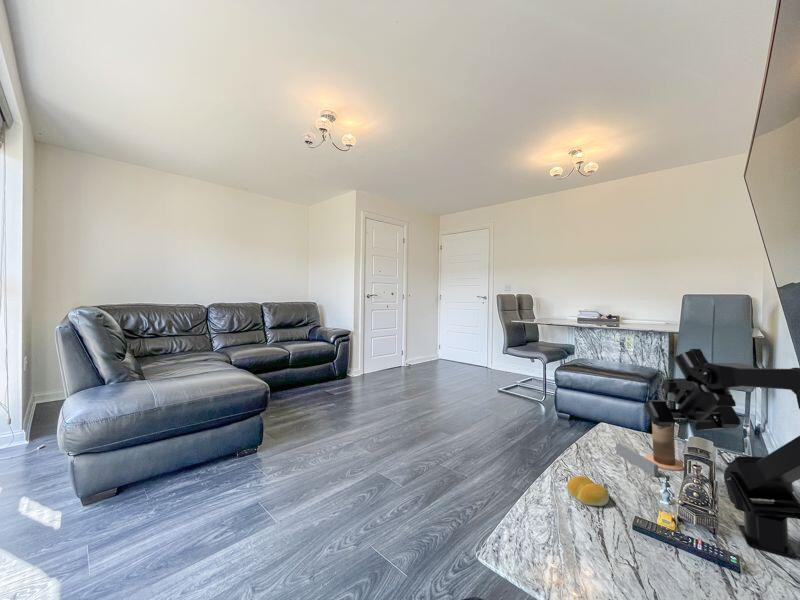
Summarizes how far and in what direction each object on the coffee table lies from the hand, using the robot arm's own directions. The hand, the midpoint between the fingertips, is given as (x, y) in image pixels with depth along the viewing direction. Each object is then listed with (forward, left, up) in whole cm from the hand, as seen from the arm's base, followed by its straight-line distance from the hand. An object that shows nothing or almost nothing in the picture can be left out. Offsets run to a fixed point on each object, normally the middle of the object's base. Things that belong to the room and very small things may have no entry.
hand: (676, 428), depth 90 cm
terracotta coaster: (+6, +3, -13) cm, 14 cm away
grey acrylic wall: (+1, +10, -13) cm, 16 cm away
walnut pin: (+6, +3, -12) cm, 14 cm away
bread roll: (-24, +20, -13) cm, 34 cm away
